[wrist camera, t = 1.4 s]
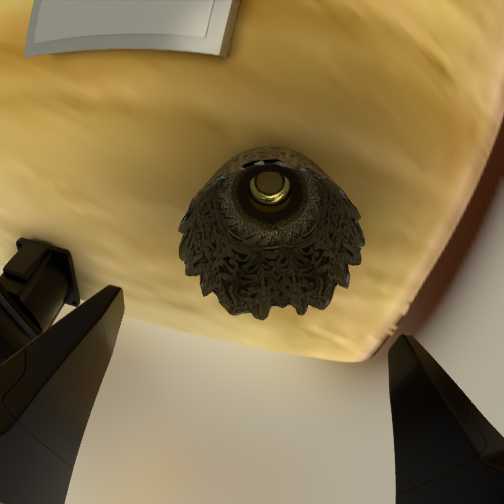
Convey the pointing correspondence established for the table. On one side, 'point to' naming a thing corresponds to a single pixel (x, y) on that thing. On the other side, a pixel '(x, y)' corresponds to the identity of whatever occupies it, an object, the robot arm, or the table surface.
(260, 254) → the cup
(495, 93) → the table surface
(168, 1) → the slate base
